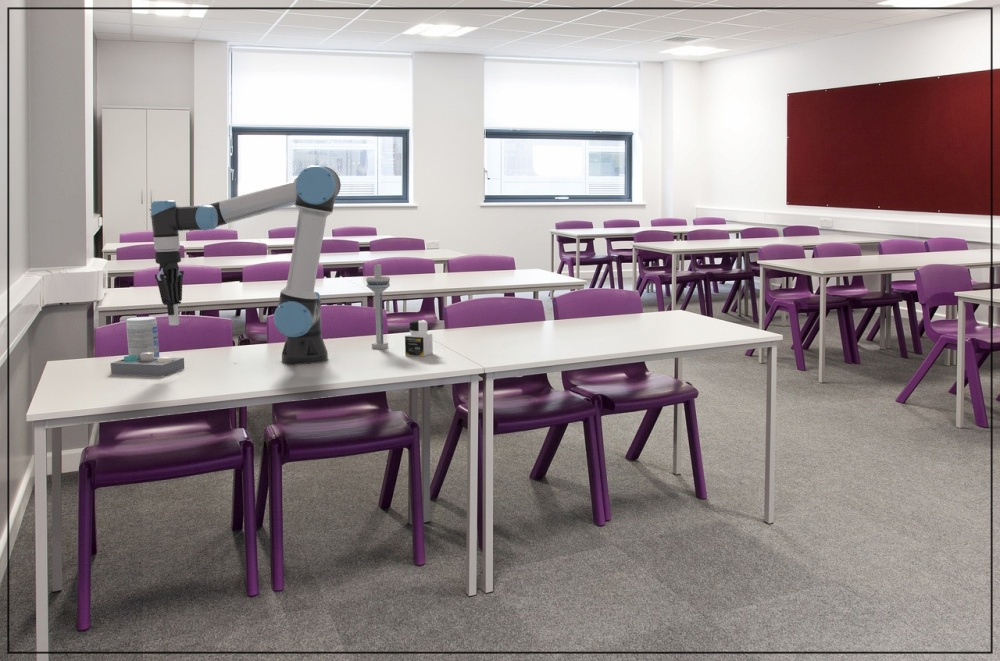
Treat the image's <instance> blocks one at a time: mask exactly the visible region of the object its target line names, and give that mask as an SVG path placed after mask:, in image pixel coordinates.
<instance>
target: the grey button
mask: <svg viewBox="0 0 1000 661" xmlns="http://www.w3.org/2000/svg"><path fill="white" fill-rule="evenodd" d="M140 356H141V362H152V361H154V353H153V352H145V353H141V354H140Z"/></svg>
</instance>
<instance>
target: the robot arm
mask: <svg viewBox="0 0 1000 661" xmlns="http://www.w3.org/2000/svg"><path fill="white" fill-rule="evenodd" d="M341 185H342V184H341V179H340V177H339V175H338V174H337V172H336V171H334V170H333V169H332V168H330V167H327V166H324V165H318V164H314V165H310V166H307V167H305V168H304V169H302V170H301V171H300V173H299V174H298V176H296V177H295V178H294V179H293V181H289V182H285V183H282V184H277V185H275V186H270V187H267V188H264V189H260V190H256V191H253V192H249V193H246V194H241V195H238V196H234V197H231V198H227V199H223V200H221V201H216V202H213V203H210V204H209V203H208V204H205V205H203V204H201V205H191V206H188V205H187V206H178V205H177V203H176V201H175V200H154V201H152V202H151V203H150V218H151V225H152V226H151V227H152V236H153V245H154V246H153V248H154V250H155V252H154V259H155V263H156V264H157V265H158V264H159V266H158V273H157V274H155V275H154V279H155V280H156V283H157V287H158V291H159V295H160V299H161V300H160V301H161V303H162V304H163V305H164V306H166V308H167V309H166V310H167V316H168V325H169V326H178V325H180V316H179V304H181V303H182V301H183V278H184V274H185V271H184V270H180V266H179V263H181V261H182V257H181V256H182V255H181V251H180V250H179V249H180V248H181V244H180V243H181V242H180V236H179V235H180V234H179V232H183V231H209V230H216V228H218V227H220V226H224V225H228V224H231V223H234V222H238V221H242V220H245V219H249V218H252V217H256V216H260V215H264V214H267V213H271V212H274V211H278V210H281V209H282V210H283V209H286V208H288V207H289V208H290V207H292V206H293V207H296V209H297V210H298V215H297V216H298V217H297V223H296V228H295V233H294V240H293V245H292V251H291V258H290V263H289V270H288V275H287V281H286V286H285V287H283V289H281V290H280V294H279V299H278V304H277V307H276V308H275V311H274V313H273V322H274V326H275V328H276V330H277V331H278V332H280V333H281V334H282V335H284V336H285V337H286V338H285V342H284V344H283V348H282V351H281V362H283V363H285V364H286V363H287V364H294V365H295V364H299V365H301V364H313V363H314V364H315V363H316V364H317V363H320V362H325V361H327V360H328V359H329V355H328V354H329V353H328V349H327V347H326V344H325V342H324V339H323V336H322V310H321V303H322V299H321V295H320V293H319V292H318V291H315V286H316V280H317V275H318V270H319V263H320V257H321V252H322V248H323V247H322V245H323V239H324V234H325V228H326V222H327V217H328V216H330V215H331V214H332V213H333V210H334V205H335V199H336V198H337V196H338V195H339V194H340V191H341Z"/></svg>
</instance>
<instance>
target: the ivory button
mask: <svg viewBox="0 0 1000 661" xmlns="http://www.w3.org/2000/svg"><path fill="white" fill-rule="evenodd" d="M168 362H171V356H159V358H158V363H168Z"/></svg>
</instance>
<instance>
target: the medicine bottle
mask: <svg viewBox="0 0 1000 661" xmlns="http://www.w3.org/2000/svg"><path fill="white" fill-rule="evenodd" d="M404 347H405V348H404V350H405V351H404V353H405V356H406V357H418V358H425V357H426V356H430V355H432V354H433V353H434V352H433V347H434V346H433V333H431V332H428V321H426V320H424V319H414V320H411V321H410V322H409V334H406V335H405V336H404Z"/></svg>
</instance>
